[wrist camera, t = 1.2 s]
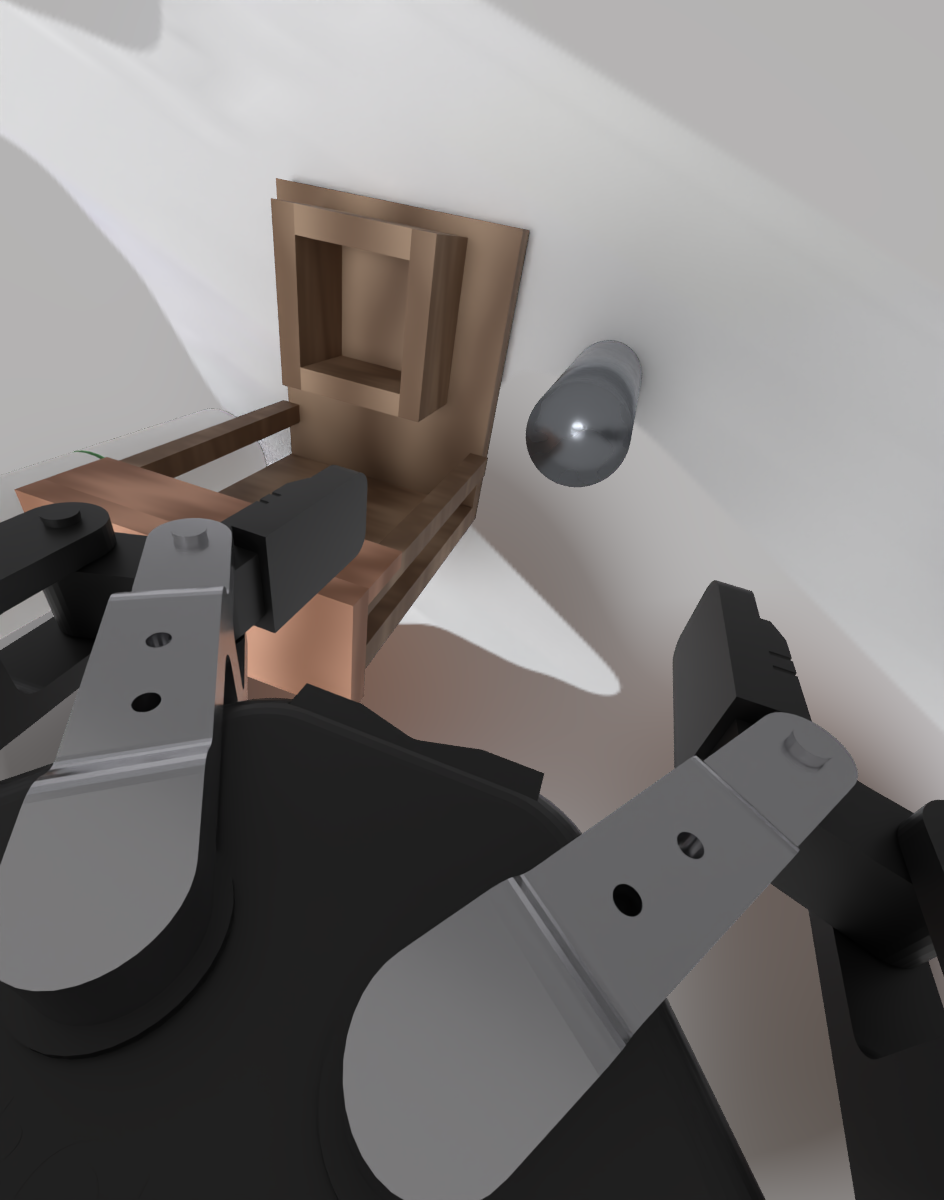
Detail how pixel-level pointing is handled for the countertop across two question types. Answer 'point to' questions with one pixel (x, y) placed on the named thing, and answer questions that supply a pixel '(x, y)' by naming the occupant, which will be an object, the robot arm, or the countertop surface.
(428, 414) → the wooden frame stand
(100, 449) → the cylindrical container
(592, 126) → the countertop surface
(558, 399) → the steel peg
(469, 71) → the countertop surface
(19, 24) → the countertop surface
